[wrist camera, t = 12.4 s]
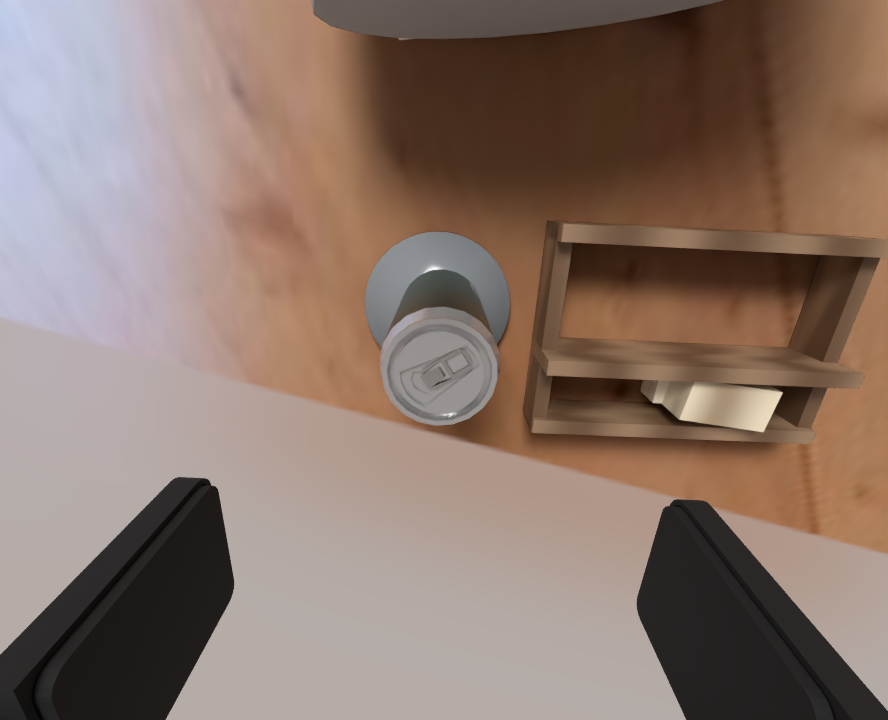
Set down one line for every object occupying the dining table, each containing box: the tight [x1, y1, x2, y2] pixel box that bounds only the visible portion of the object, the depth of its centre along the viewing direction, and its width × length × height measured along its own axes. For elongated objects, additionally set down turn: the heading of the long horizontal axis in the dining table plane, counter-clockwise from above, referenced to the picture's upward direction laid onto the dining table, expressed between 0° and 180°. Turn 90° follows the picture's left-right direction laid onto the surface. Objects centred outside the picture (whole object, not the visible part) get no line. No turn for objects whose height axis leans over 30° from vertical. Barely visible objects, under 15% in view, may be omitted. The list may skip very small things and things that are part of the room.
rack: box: [523, 221, 888, 444], centre depth 28 cm, size 20×14×5 cm
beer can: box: [379, 269, 500, 426], centre depth 23 cm, size 5×5×12 cm
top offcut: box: [662, 381, 783, 432], centre depth 29 cm, size 6×3×2 cm, turn 81°
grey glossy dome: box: [365, 231, 510, 348], centre depth 29 cm, size 10×10×1 cm
